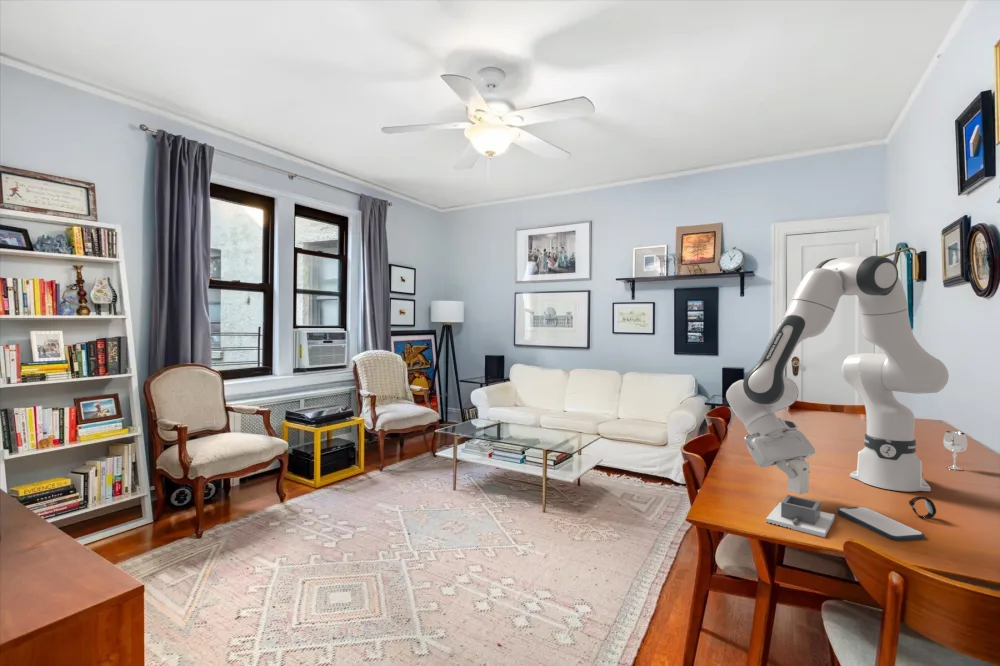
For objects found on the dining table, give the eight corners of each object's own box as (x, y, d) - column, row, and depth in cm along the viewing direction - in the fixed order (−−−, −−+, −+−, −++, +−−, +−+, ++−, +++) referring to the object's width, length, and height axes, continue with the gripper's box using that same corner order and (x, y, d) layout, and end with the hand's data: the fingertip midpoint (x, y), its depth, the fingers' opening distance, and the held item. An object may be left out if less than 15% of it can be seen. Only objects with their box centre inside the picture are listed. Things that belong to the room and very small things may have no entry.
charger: (796, 488, 131) (796, 459, 131) (809, 492, 128) (809, 462, 128) (787, 490, 130) (788, 461, 129) (800, 494, 127) (800, 464, 126)
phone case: (928, 541, 108) (864, 512, 124) (928, 534, 108) (864, 505, 124) (894, 544, 107) (834, 514, 123) (894, 537, 107) (834, 507, 123)
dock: (779, 505, 127) (780, 488, 127) (834, 518, 119) (835, 500, 119) (765, 522, 117) (766, 504, 117) (824, 537, 109) (825, 517, 108)
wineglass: (965, 472, 154) (966, 435, 154) (941, 468, 158) (942, 432, 158) (967, 469, 158) (968, 432, 157) (943, 465, 162) (944, 429, 162)
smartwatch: (936, 522, 117) (936, 502, 117) (908, 516, 120) (909, 496, 120) (935, 517, 120) (936, 497, 120) (908, 511, 123) (909, 492, 123)
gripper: (748, 429, 130) (781, 475, 122) (798, 421, 139) (833, 464, 130) (734, 441, 135) (765, 487, 126) (784, 433, 143) (816, 475, 134)
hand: (800, 475), depth 128 cm, fingers closed on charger, 3 cm apart
